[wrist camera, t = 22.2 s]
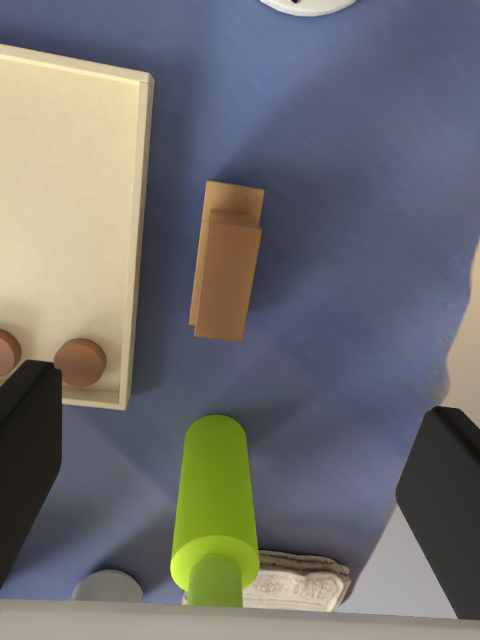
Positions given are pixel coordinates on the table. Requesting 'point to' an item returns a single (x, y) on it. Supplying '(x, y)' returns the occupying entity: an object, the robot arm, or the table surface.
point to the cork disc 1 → (8, 352)
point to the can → (108, 588)
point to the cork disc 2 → (80, 362)
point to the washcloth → (295, 583)
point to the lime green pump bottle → (215, 515)
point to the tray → (73, 210)
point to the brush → (226, 260)
